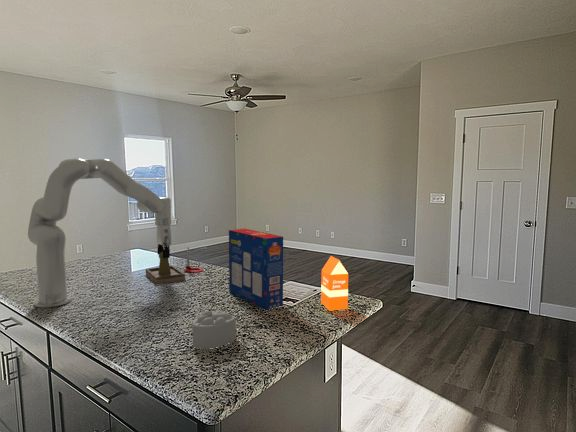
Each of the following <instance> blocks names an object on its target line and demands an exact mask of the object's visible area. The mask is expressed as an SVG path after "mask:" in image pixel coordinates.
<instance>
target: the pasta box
mask: <svg viewBox="0 0 576 432" xmlns="http://www.w3.org/2000/svg"><path fill="white" fill-rule="evenodd" d="M228 266H229V267H228V268H229V269H228V271H229V272H228V279H229V280H228V282H229V283H228V284H229V287H228V288H229V289H228V290H229V291H228V292H229V294H230V295H233V296H236V298H237V297H238V298H239V299H241V300H243V301H246V302H248V303H249V304H251V303H252V304H251V305H253V304H254V306H255V305H256V307H257V306H258V308H259V307H260V308H259V309H261V308H263V309H265V310H264V311H266V310H268V311H270V310H269V309H272V308H275V309H277V308H276V307H279V306H284V236H282V235H277V234H272V233H267V232H264V231H263V232H262V231H257V230H253V229H249V228H237V229H229V230H228ZM279 308H280V307H279ZM263 309H262V310H263ZM272 310H273V309H272Z"/></svg>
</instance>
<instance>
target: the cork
mask: <svg viewBox="0 0 576 432" xmlns="http://www.w3.org/2000/svg"><path fill="white" fill-rule="evenodd" d="M158 258H159V265H158V267H159V273H158V275H169V274H171V271H170V266H171V265H170V260H169V258H170V257H169V258H163V252H161V253H159V255H158Z"/></svg>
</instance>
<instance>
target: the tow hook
mask: <svg viewBox="0 0 576 432" xmlns="http://www.w3.org/2000/svg"><path fill="white" fill-rule="evenodd" d="M186 272H187V273H191V274H196V273H197V274H198V272H199V273H202V272H204V269H203V268H202V267H196V266H195V267H192V266H191V261H190V247H187V251H186V266H185V268H184V269H183V273H186Z"/></svg>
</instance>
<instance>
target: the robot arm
mask: <svg viewBox="0 0 576 432" xmlns="http://www.w3.org/2000/svg"><path fill="white" fill-rule="evenodd" d="M89 179H102V180H103V181H104V182H105V183H106V184H108V185H109V186H111V188H113V189H114V190H115V191H116V192H117V193H119V194H121V195H123V196H124V197H125V196H126V197H129V198H131V199H133V200H135V201H137V202H136V207H137V209H138V210H139V211H140V212H143V213H148V214H154V225H155V226H156V243H157V246H156V247H157V255H158V256H159V253H161V252H163V258H170V257H171V245H172V231H171V226H172V200H171V198H170V197H167V196H166V197H165V196H164V197H163V196H158V195H157V194H155V192H153V191H152V190H151V189H150V188H148V187H147V186H145V185H143V184H141V183H140V182H138V181H137V180H135V179H133V178H132V177H131V176H130V175H128V173H126V172H125V171H124V170H123V169H122V168H120V167H119V166H118V165H117V164H116V163H114V162H113V161H112V160H110V159H108V158H94V159H92V158H91V159H83V158H70V159H64V160H62V161H61V162H60V163H59V164H58V165H57V167H56V168H54V170H53V171H52V172H51V173H50V175H49V176H48V179H47V182H46V186H45V190H44V194H43V196H42V197H40V198H38V199H37V200H36V201H35V202H34V204H33V206H32V208H31V213H30V217H29V218H30V219H29V223H28V229H27V236H28V237H27V238H28V239H29V242H30V243H31V244H33V245H35V246H36V252H35V253H36V256H35V257H36V259H35V262H36V263H35V264H36V275H37V276H36V277H37V288H38V289H37V291H38V292H37V293H38V299H36V300H35V301H34V307H36V308H43V309H45V308H46V309H47V308H54V307H60V306H64V305H67V304H68V303H70V302H71V301H72V298H73V297H72V296H71V295H68V292H67V291H68V290H67V271H66V257H65V256H66V255H65V253H66V250H65V249H66V242H67V241H66V234H65V232H64V230H63V229H62V228H61V227H59V226H57V223H58V221H61V220H63V219H64V218H66V216H67V213H68V209H69V203H70V202H69V200H70V195H71V191H72V189H73V186H74V184H75V183H77V182H78V181H80V180H89Z"/></svg>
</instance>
